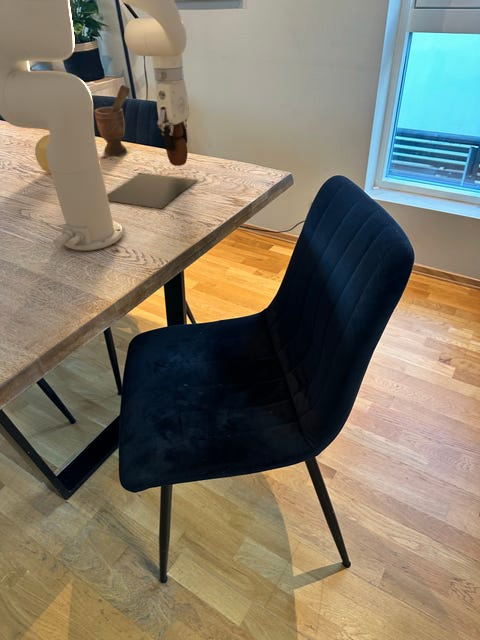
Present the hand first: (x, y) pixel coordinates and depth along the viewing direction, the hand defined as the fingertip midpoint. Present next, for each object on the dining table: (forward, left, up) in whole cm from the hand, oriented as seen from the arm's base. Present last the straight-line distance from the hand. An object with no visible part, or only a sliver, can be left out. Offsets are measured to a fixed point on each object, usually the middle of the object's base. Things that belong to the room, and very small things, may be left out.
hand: (176, 145), depth 122 cm
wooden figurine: (0, 0, -5) cm, 5 cm away
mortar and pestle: (+9, +26, -7) cm, 28 cm away
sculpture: (-12, +33, -7) cm, 36 cm away
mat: (-17, 0, -7) cm, 18 cm away
